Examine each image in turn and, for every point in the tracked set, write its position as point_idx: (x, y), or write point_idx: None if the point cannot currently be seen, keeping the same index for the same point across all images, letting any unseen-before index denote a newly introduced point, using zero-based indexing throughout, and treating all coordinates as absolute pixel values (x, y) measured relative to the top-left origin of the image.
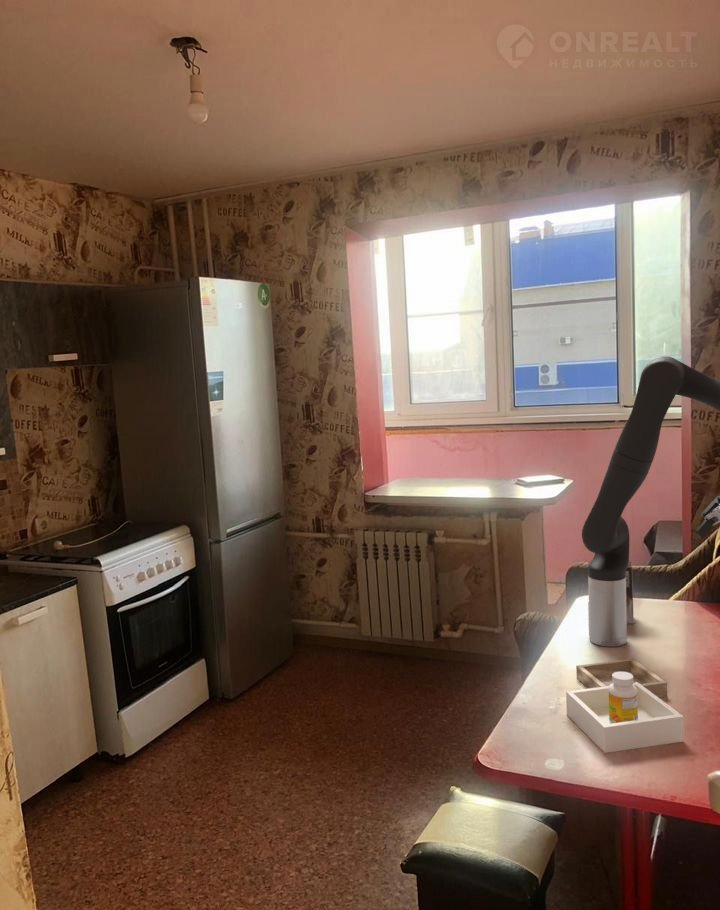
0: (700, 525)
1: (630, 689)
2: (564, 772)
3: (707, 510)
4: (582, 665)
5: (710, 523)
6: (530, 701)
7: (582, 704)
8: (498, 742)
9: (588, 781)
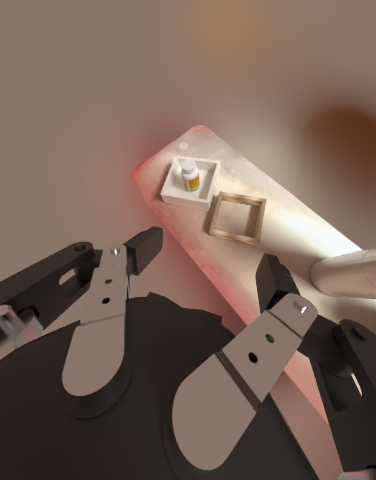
0: (282, 271)
1: (182, 170)
2: (175, 145)
3: (366, 360)
4: (264, 202)
5: (267, 303)
6: (244, 164)
7: (201, 160)
8: (212, 134)
9: (165, 150)
